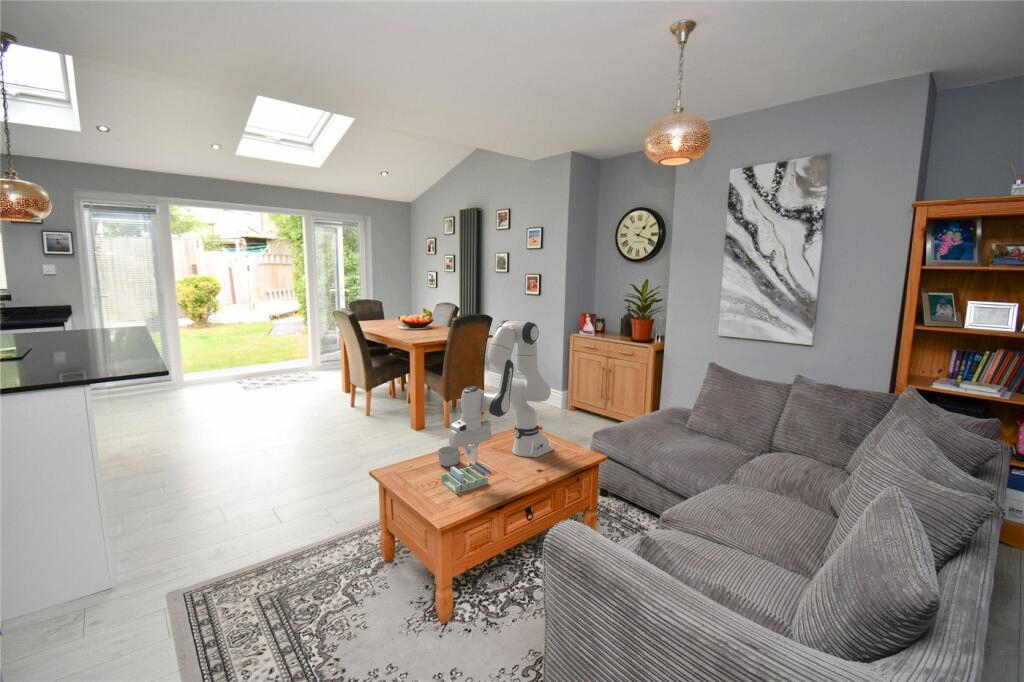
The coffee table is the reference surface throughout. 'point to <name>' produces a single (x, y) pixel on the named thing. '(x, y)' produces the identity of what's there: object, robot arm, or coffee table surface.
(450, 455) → the teacup
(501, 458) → the coffee table surface
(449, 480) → the rack
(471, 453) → the plate
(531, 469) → the coffee table surface
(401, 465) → the coffee table surface
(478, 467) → the stand
